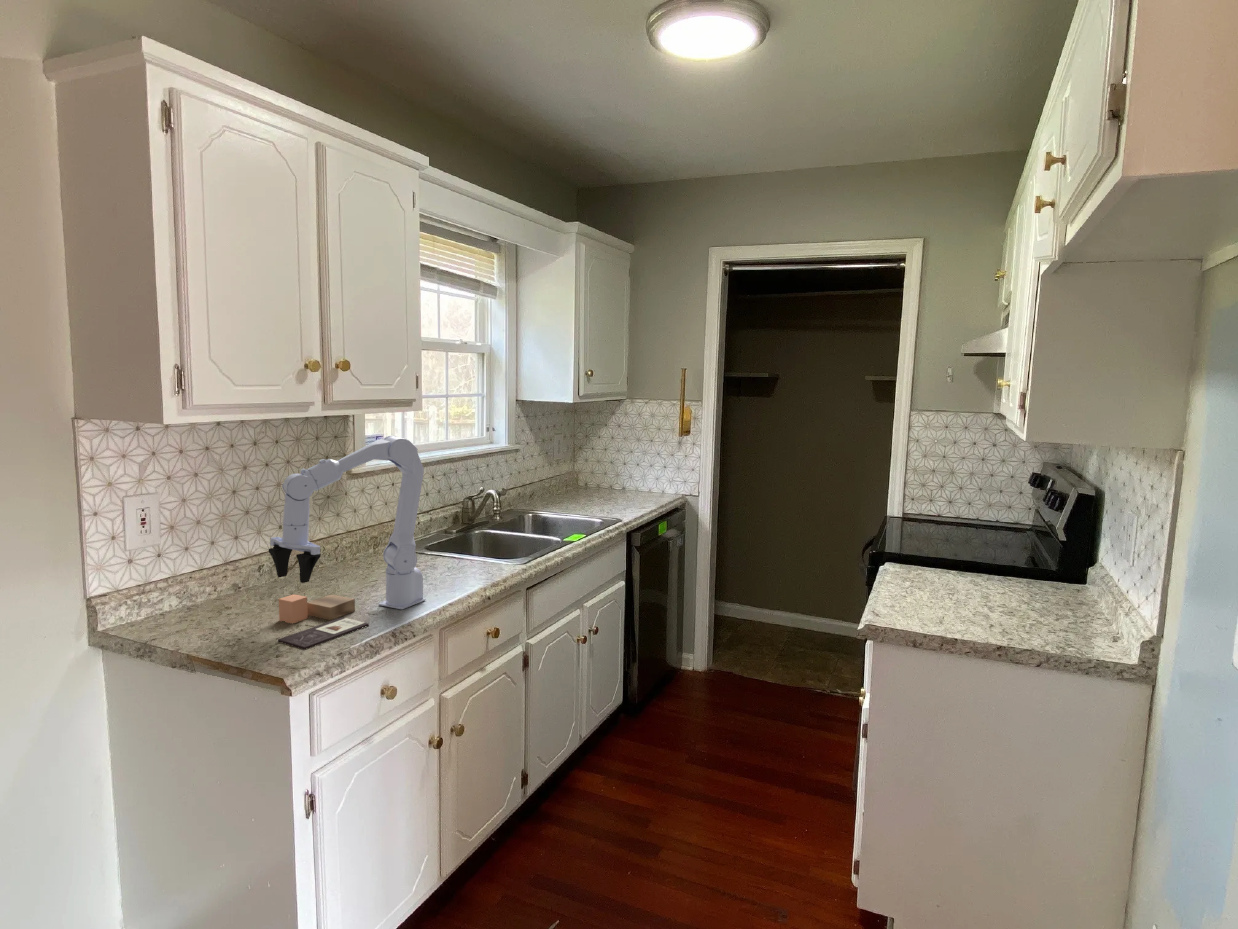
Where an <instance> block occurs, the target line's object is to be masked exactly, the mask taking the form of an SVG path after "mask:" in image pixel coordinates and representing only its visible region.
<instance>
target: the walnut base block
mask: <svg viewBox="0 0 1238 929" xmlns="http://www.w3.org/2000/svg"><path fill="white" fill-rule="evenodd" d="M307 610H308V616H310V617H314V616H315V617H314V618H319V619H324V620H328V621H333V620H336V619H339V618H341V617H343V616H346V615H348V614H351V613H354V612H356V599H355V598H353V597H347V596H341V595H336V594H332V593H331V594H328V595H326V596H322V597H319V598H317V599H313V600H310V601H307Z"/></svg>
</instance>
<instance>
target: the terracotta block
mask: <svg viewBox="0 0 1238 929" xmlns="http://www.w3.org/2000/svg"><path fill="white" fill-rule="evenodd" d="M307 602H308V596H304V595H299V594H294V593H293V594H290V595H288V596H284V597H281V598H278V615H279V616H278V617H279V618H278V619H279V622H282V621H285V622H284V623H287V624H291V623H292V624H293V623H294V624H296V623H299V622H301V621H305V620H307V619H309V617H308V616H309V615H308V610H307ZM298 621H299V622H298ZM292 624H291V625H292Z"/></svg>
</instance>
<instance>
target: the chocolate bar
mask: <svg viewBox="0 0 1238 929" xmlns="http://www.w3.org/2000/svg"><path fill="white" fill-rule="evenodd" d="M369 625H370V624H369V623H367V622H363V621H359V620H356V619H350V618H347V617H343V616H340V617H338V618H335V619H332V620H329V621H328V622H325V623H322V624H319V625H316V626H312V627H310V628H308V629H304V630H302V631H299V632H296V633H292V634H290V635H286V636H284V637H281V638H279V639H277V642H278V643H280V642H283V643H282V644H284V643H286V644H285V645H287V644H289V645H288V646H291V645H293V646H292V647H294V646H295V647H294V648H298V647H299V648H298V649H301V648H302V649H301V650H304V649H305V650H307V649H306V648H308V649H311V648H314V647H315V645H316V646H318V645H321V643H322V644H324V643H326V642H329V640H330V641H332V640H335V639H337V637H338V638H340V637H342V635H343V636H346V635H349V634H351V633H353V632H352V631H354V632H355V631H356V630H357V629H359V630H361V628H362V627H365V626H367V627H369ZM365 628H366V627H365ZM362 629H363V628H362ZM357 631H358V630H357ZM350 632H351V633H350ZM348 633H349V634H348ZM345 634H346V635H345ZM310 647H311V648H310Z"/></svg>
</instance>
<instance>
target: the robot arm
mask: <svg viewBox="0 0 1238 929" xmlns="http://www.w3.org/2000/svg"><path fill="white" fill-rule="evenodd" d="M418 451H419V450H418V448H417V447H416V445H414V444H413V443H412V441H410V440H409V439H407V438H403V437H402V438H401V437H399V436H396V435H388V436H386V437H384V438H380V439H377V440H374V441H373V442H371V443H369V444H367V445H364V446H362V447H361V448H359V449H357V450H355V451H353V452H351V453H349V454H347V455H345V456H344V457H342V458H340V459H337V460H335V459H331V458H328V459H324V458H321V459H320V460H318V462H319V463H317V464H315V465H312V466H311V467H308V468H307V469H305V468H302V469H300V470H299V472H300V473H292V474H290V475H288V476H286V478H285V479H284V481H283V483H282V484H281V485H282V490H283V492H284V493H285V494H284V504H283V520H282V537H279V536H276V537H275V536H274V537H270V542H269V543H270V544H269V545H270V546H272V548H271V547H270V548H268V554H270V556H271V558H272V561H273V563H274V567H275V570H276V574H277V578H282V577H287V575H288V570H289V563H290V557H291V555H292V552H293V551H296V552H297V551H298V552H302V553H298V554H296V555H295V556H296V559H297V561H298V565H299V566H298V568H299V583H301V584H303V583H304V584H305V583H308V582H310V579H311V577H312V574H313V570H314V568H315V566H316V564H317V562H318V560H319V559H320V558H321V554H322V553H321V545H318V544H315V543H313V542H312V541H309V533H310V532H309V531H310V530H309V529H310V528H309V527H310V512H311V510H310V509H311V506H310V502H311V501H310V499H311V498H310V497H312V495H313V493H314V492H317V491H320V490H321V489H323V488H325V487H327V486H330V485H331V484H334V483H336V482H338V481H339V480H341V479H342V477H343V474H344V473H345V472H349V471H350V470H352V469H355V468H357V467H360V466H361V465H363V464H366V463H369V462H371V461H374V460H375V461H377V460H378V461H390V462H391V463H393V464H394V466H395V467H396V468H397V469H398V470H399V472H401V473H402V474H401V482H400V488H399V495H398V501H397V507H396V513H395V518H394V519H395V520H394V525H393V526H394V527H393V532H392V534H391V535H390V537H389V538H388V543H387V545H386V547H385V548H384V549H383V553H382V557H383V558H382V559H383V561H384V562H385V563H386V564H387V565H386V568H385V600H384V601H380V602H379V603H378V606H382V607H387V608H393V609H397V610H405V609H407V608H409V607H412V606H414V605H417V604H420V603H422V602H424V600H425V601H427V600H426V598H425V597H424V577H423V573H422V572H421V571H422V570H420V569H419V568H417V567H416V566H417V564H418V557H417V556H418V555H417V553H416V548H417V547H416V546H417V545H416V541H415V540H416V539H415V537H414V535H415V530H416V524H417V517H418V511H419V505H420V498H421V493H422V491H421V490H422V484H423V481H424V480H423V479H424V473H425V469H424V466H423V463H422V460H421V458H420V456H419V454H418V453H419V452H418Z"/></svg>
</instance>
